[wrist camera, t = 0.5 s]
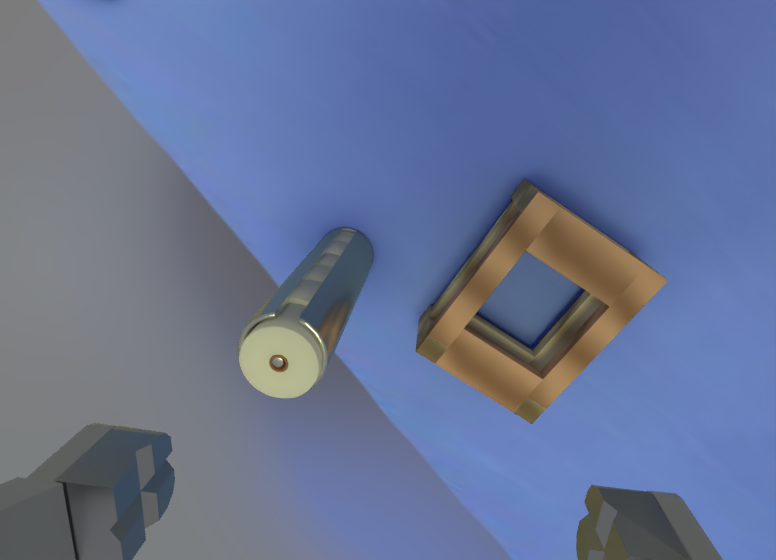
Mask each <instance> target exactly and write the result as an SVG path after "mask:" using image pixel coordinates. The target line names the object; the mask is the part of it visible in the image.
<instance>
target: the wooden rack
mask: <svg viewBox="0 0 776 560" xmlns="http://www.w3.org/2000/svg"><path fill="white" fill-rule="evenodd" d="M510 198H511V199H512V202H511V203H510V204H509V206H508V207H507V208H506V210H505V211H504V212H503V214H502V215H501V216H500V218H499V219H498V220H497V222H496V223H495V224H494V226H493V227H492V228H491V230H490V231H489V232H488V234H487V235H486V236H485V238H484V239H483V240H482V242H481V243H480V244H479V246H478V247H477V248H476V250H475V251H474V252H473V254H472V255H471V256H470V258H469V259H468V260H467V262H466V263H465V264H464V266H463V267H462V268H461V270H460V271H459V272H458V274H457V275H456V276H455V278H454V279H453V280H452V282H451V283H450V284H449V286H448V287H447V288H446V290H445V291H444V292H443V294H442V295H441V296H440V298H439V299H438V300H437V302H436V303H435V304H434V306H432V305H430V306H429V307H428V308H427V310H426V311H425V312H424V314H423V315H422V316H421V318H420V319H419V325H418V334H417V344H416V352H417V353H419V354H420V355H422V356H424V357H425V358H427V359H428V360H430V361H432V362H433V363H435V364H436V365H438V366H440V367H441V368H443V369H444V370H446V371H448V372H449V373H451V374H452V375H454V376H456V377H457V378H459V379H460V380H462V381H464V382H465V383H467V384H468V385H470V386H472V387H473V388H475V389H476V390H478V391H480V392H481V393H483V394H484V395H486V396H488V397H489V398H491V399H492V400H494V401H496V402H497V403H499V404H500V405H502V406H504V407H505V408H507V409H508V410H510V411H512V412H513V413H515V414H516V415H518V416H520V417H521V418H523V419H524V420H526V421H528V422H529V423H531V424H532V423H533V422H534V421H535V420H536V419H537V418H538V417H539V416H540V415H541V414H542V413H543V412H544V411H545V410H546V409H547V408H548V406H549V405H550V404H551V403H552V402H553V401H554V400H555V399H556V398H557V397H558V396H559V395H560V394H561V393H562V392H563V391H564V390H565V389H566V388H567V386H568V385H569V384H570V383H571V382H572V381H573V380H574V379H575V378H576V377H577V376H578V375H579V374H580V373H581V372H582V371H583V370H584V369H585V368H586V366H587V365H588V364H589V363H590V362H591V361H592V360H593V359H594V358H595V357H596V356H597V355H598V354H599V353H600V352H601V351H602V350H603V349H604V347H605V346H606V345H607V344H608V343H609V342H610V341H611V340H612V339H613V338H614V337H615V336H616V335H617V334H618V333H619V332H620V331H621V330H622V329H623V327H624V326H625V325H626V324H627V323H628V322H629V321H630V320H631V319H632V318H633V317H634V316H635V315H636V314H637V313H638V312H639V311H640V310H641V309H642V307H643V306H644V305H645V304H646V303H647V302H648V301H649V300H650V299H651V298H652V297H653V296H654V295H655V294H656V293H657V292H658V291H659V290H660V288H661V287H662V286H663V285H664V284H665V283H666V282H667V281H668V280H667V279H666V278H664V277H663V276H662V275H661V274H659V273H658V272H657V271H655V270H654V269H653V268H652V267H650V266H649V265H648V264H646V263H645V262H644V261H643V260H641V259H640V258H639V257H638V256H636V255H635V254H633V253H632V252H630V251H629V250H628V249H626V248H625V247H623V246H622V245H620V244H619V243H617V242H615V241H614V240H612V239H611V238H609V237H608V236H606V235H605V234H603V233H602V232H600V231H599V230H598V229H596V228H595V227H593V226H592V225H590V224H589V223H587V222H586V221H584V220H583V219H582V218H580V217H579V216H577V215H576V214H574V213H573V212H571V211H570V210H568V209H567V208H566V207H564V206H563V205H561V204H560V203H558V202H557V201H555V200H554V199H552V198H551V197H550V196H548V195H547V194H545V193H544V192H543V191H542V190H540V189H539V188H537V187H536V186H534V185H533V184H531V183H530V182H529V181H527V180H526V179H524V180H523V181H522V182H521V184H520V185H519V186H518V188H517V189H516V190H515V192H514V193H513V194H512V196H511V197H510ZM525 251H527V252H529V253H530V254H532V255H533V256H535V257H536V258H538V259H539V260H541V261H542V262H544V263H545V264H547V265H548V266H550V267H551V268H553V269H554V270H556V271H557V272H559V273H560V274H562V275H563V276H565V277H566V278H568V279H569V280H571V281H572V282H574V283H575V284H577V285H578V286H580V287H581V288H583V289H584V290H585V291H584V292H583V294H582V295H581V296H580V297H579V298H578V299H577V300H576V301H575V303H574V304H573V305H572V306H571V307H570V308H569V309H568V311H567V312H566V313H565V314H564V315H563V316H562V317H561V318H560V320H559V321H558V322H557V323H556V324H555V325H554V326H553V328H552V329H551V330H550V331H549V332H548V333H547V334H546V335H545V337H544V338H543V339H542V340H541V341H540V342H539V343H538V345H537V346H536V347H535V348H534V349H533V350H531V349H529V348H528V347H526V346H525V345H523V344H522V343H520V342H519V341H517V340H515V339H514V338H512V337H511V336H509V335H508V334H506V333H505V332H503V331H501V330H500V329H498V328H497V327H495V326H494V325H492V324H491V323H489V322H487V321H486V320H484V319H483V318H481V317H480V316H478V315H477V314H476V312H477V311H478V310H479V309H480V307H481V306H482V305H483V304H484V302H485V301H486V300H487V299H488V297H489V296H490V295H491V294H492V292H493V291H494V290H495V289H496V287H497V286H498V285H499V284H500V282H501V281H502V280H503V279H504V277H505V276H506V275H507V274H508V272H509V271H510V270H511V269H512V267H513V266H514V265H515V264H516V262H517V261H518V260H519V259H520V257H521V256H522V255H523V253H524V252H525Z"/></svg>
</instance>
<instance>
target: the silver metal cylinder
mask: <svg viewBox="0 0 776 560" xmlns="http://www.w3.org/2000/svg"><path fill="white" fill-rule="evenodd" d="M373 256H374V253H373V249H372V246H371V244H370V242H369V240H368V239H367V238H366V237H365V236H364V235H363V234H362V233H360V232H359V231H357V230H354V229H351V228H338V229H334V230H332V231H330V232H329V233H328V234H327V235H325V236H324V237H323V239H322V240H321V241H320V242H319V243H318V244H317V245H316V246H315V248H314V249H313V250H312V251H311V252H310V253H309V254H308V255H307V257H306V258H305V259H304V260H303V261H302V262H301V263H300V264H299V266H298V267H297V268H296V269H295V270H294V271H293V272H292V274H291V275H290V276H289V277H288V278H287V279H286V280H285V281H284V283H283V284H282V285H281V286H280V287H279V288H278V289H277V291H276V292H275V293H274V294H273V295H272V296H271V297H270V298H269V300H268V301H267V302H266V303H265V304H264V305H263V306H262V307H261V309H260V310H259V311H258V312H257V313H256V314H255V315H254V316H253V318H252V319H251V320H250V321H249V322H248V324H246V326H245V327H244V329H243V331H242V332H241V334H240V338H239V342H238V356H239V359H240V366H241V369H242V372H243V374H244V375H245V377H246V378H247V380H248V381H249V382H250V383H251V384H252V385H253V386H254V387H255V388H256V389H258V390H259V391H261V392H263V393H264V394H266V395H269V396H272V397H276V398H294V397H297V396H299V395H302V394H304V393H305V392H306V391H308V390H309V389H311V388H312V387H314V386H315V385H316V384H317V383H319V382H320V380H321V379H322V377H323V376H324V375H325V373H326V370H327V368H328V366H329V363H330V361H331V359H332V356H333V354H334V352H335V350H336V347H337V345H338V343H339V340H340V338H341V336H342V333H343V331H344V329H345V326H346V324H347V322H348V320H349V317H350V315H351V313H352V310H353V308H354V306H355V303H356V301H357V299H358V296H359V294H360V292H361V289H362V287H363V285H364V283H365V280H366V278H367V276H368V273H369V271H370V269H371V266H372V263H373Z"/></svg>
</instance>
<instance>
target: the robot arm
mask: <svg viewBox="0 0 776 560" xmlns="http://www.w3.org/2000/svg"><path fill="white" fill-rule="evenodd" d="M171 452H172V444H171V437H170V436H169V435H168V434H166V433H163V432H156V431H150V430H142V429H136V428H129V427H122V426H113V425H105V424H99V423H93V424H90V425H87V426H85V427H84V428H83V429H82V430H81V431H80V432H78V433H77V434H76V435H75V436H74V437H73V438H72V439H70V440H69V441H68V442H67V443H66V444H65V445H64V446H62V447H61V448H60V449H59V450H58V451H57V452H56V453H54V454H53V455H52V456H51V457H50V458H49V459H47V460H46V461H45V462H44V463H43V464H42V465H41V466H40V467H38V468H37V469H36V470H35V471H34V472H33V473H32V474H30V475H29V476H28V477H27V478H19V477H17V478H15V479H13V480H10V481H8V482H5V483H3V484H0V560H132V559H133V558H134V556H135V555H136V553H137V552H138V550H139V549H140V547H141V546H142V545H143V543H144V542H145V540H146V538H145V537H146V536H145V528H147V527H148V526H150V525H152V524H154V523H155V522H157V521H159V520H160V518H161V517H162V515H163V514H164V512H165V511H166V509H167V507H168V505H169V502H170V499H171V497H172V494H173V490H174V482H175V476H174V469H173V468H172V466H171V465H170V464H169V463H168V461H167V460H166V458H167V457H168V456H169V455H170V453H171ZM585 505H586V507H587V510H588V512H589V514H588V515H587V516H585V517H584V518H583V519H581V520H580V522H579V526H578V531H577V543H576V551H577V557H578V560H723V559H722V558H721V556H720V555H719V553H718V552H717V550H716V549H715V547H714V546H713V544H712V543H711V541H710V540H709V538H708V537H707V535H706V534H705V532H704V531H703V529H702V528H701V526H700V525H699V523H698V522H697V520H696V519H695V517H694V516H693V514H692V513H691V511H690V510H689V508H688V507H687V505H686V504H685V502H684V500H683V499H682V498H681V497H680V496H678V495H677V494H675V493H665V492H655V491H646V492H645V491H638V490H630V489H621V488H613V487H604V486H595V485H591V487H590V488H589V490H588V491H587V495H586V498H585Z"/></svg>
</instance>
